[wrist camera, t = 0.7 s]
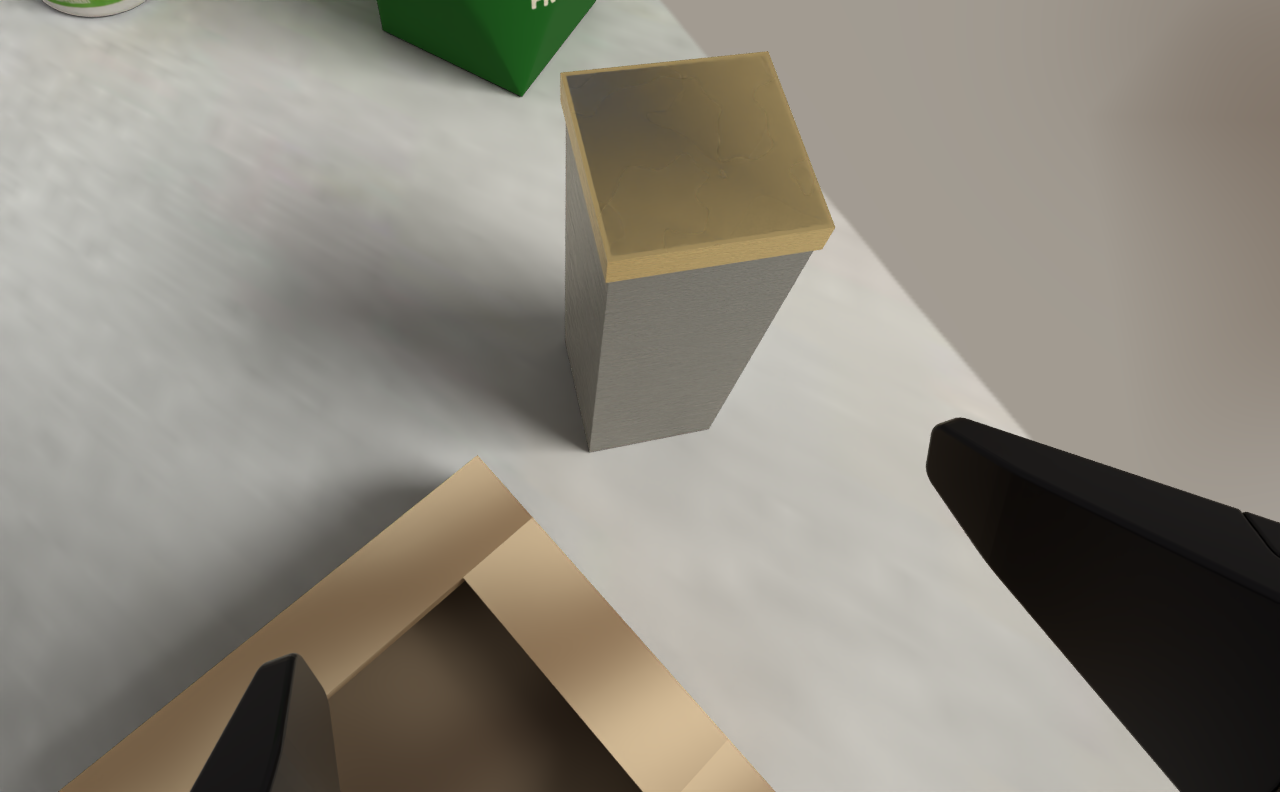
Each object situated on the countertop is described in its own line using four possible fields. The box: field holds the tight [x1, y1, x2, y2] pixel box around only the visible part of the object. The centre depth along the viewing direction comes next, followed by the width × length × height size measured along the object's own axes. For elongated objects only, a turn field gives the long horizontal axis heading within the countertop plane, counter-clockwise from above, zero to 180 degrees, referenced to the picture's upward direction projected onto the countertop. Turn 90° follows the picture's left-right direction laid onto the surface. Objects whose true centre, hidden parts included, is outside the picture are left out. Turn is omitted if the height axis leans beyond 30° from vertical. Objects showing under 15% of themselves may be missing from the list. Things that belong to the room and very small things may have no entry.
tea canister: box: [560, 51, 835, 453], centre depth 21 cm, size 5×5×13 cm
